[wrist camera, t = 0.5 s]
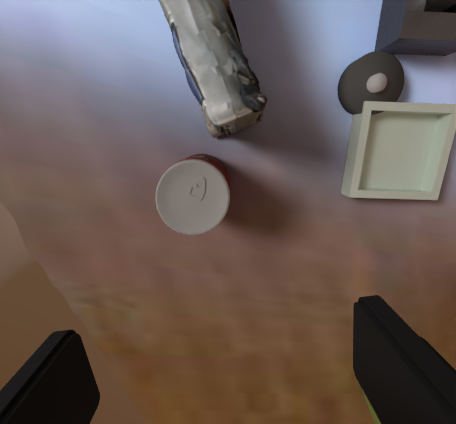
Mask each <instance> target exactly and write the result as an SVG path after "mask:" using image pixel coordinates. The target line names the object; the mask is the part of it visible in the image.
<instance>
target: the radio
mask: <svg viewBox="0 0 456 424" xmlns="http://www.w3.org/2000/svg"><path fill="white" fill-rule="evenodd" d="M159 2H160V4H161V6H162V9H163V11H164V14H165V17H166V19H167V21H168V23H169V26H170V28H171V32H172V35H173V42H174V45H175V49H176V52H177V54H178V56H179V59H180V61H181V64H182V66H183V67H184V69H185V73H186V77H187V81H188V84H189V86H190V89H191V91H192V92H193V94H194V96H195V97H196V99H197V100H198V102H199V104H200V107H201V110H202V113H203V116H204V119H205V122H206V124H207V127H208V129H209V132H210V134H211V135H212V137H213V138H215V137H218V136H220V135H223V136H227V135H229V134H232V133H234V132H237V131H240V130H242V129H244V128H246V127H249V126H251V125H252V124H254V123H256V122H258V121H261V120H262V111H263V109H264V107H265V105H266V102H267V98H266V97H265V96H264V95H263V94H262V93H261V92H260V87H259V81H258V79H257V78H256V76H255V74H254V73H253V71H252V70H251V69H250V67H249V65H248V60H247V58H246V57H245V55H244V54H243V51H242V47H241V43H240V39H239V35H238V32H237V28H236V24H235V20H234V17H233V14H232V12H231V9H230V5H229V2H228V0H159Z"/></svg>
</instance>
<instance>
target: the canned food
mask: <svg viewBox="0 0 456 424" xmlns="http://www.w3.org/2000/svg"><path fill="white" fill-rule="evenodd" d="M229 204H230V187H229V176H228V173H227V170H226V168H225V167H224V165H223V164H222V163H221V162H220V161H219V160H218V159H217V158H215V157H213V156H210V155H207V154H197V155H193V156H190V157H188V158H186V159H184V160H181V161H179V162H177V163H176V164H174V165H173V166H171V167H170V168H169V169H168V170H167V171H166V172H165V173H164V174H163V176H162V177H161V179H160V181H159V183H158V185H157V189H156V206H157V210H158V212H159V215H160V216H161V218H162V219H163V221H164V222H165V223H166V224H167V225H168V226H169V227H170V228H172V229H173V230H175V231H177V232H179V233H182V234H186V235H199V234H203V233H206V232H209V231H210V230H212V229H214V228H215V227H216V226H217V225H219V224H220V222H221V221H222V220H223V219H224V217H225V215H226V213H227V211H228V207H229Z"/></svg>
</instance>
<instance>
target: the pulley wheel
mask: <svg viewBox="0 0 456 424" xmlns="http://www.w3.org/2000/svg"><path fill="white" fill-rule="evenodd" d="M403 85H404V71H403V68H402V65H401V63H400V62H399V60H398V59H397V58H396V57H395V56H393V55H392V54H390V53H388V52H383V51H375V52H371V53H368V54H366V55H364V56H363V57H361V58H359V59H358V60H356V61H354V62H353V63H351V64H350V65H349V66H348V67H347V68H346V69H345V71H344V72H343V74H342V75H341V78H340V80H339V84H338V98H339V101H340V103H341V105H342V107H343V108H344V109H345V110H346V111H347V112H348V113H350V114H352V115H355V114H360V113H362V110H363V104H364V101H377V102H396V101H397V99H398V98H399V96H400V94H401V92H402V89H403ZM381 112H384V111H373V110H372V112H371V115H374V114H378V113H381Z"/></svg>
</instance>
